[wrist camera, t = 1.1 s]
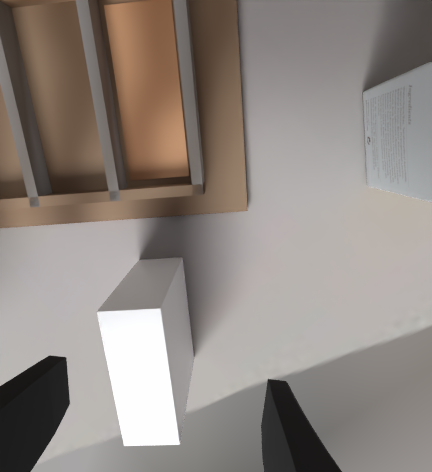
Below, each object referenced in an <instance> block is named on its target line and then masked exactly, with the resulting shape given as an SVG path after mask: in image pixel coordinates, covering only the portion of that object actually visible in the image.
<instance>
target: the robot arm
mask: <svg viewBox="0 0 432 472" xmlns="http://www.w3.org/2000/svg"><path fill="white" fill-rule="evenodd" d="M69 404H70V400H69V387H68V374H67V362H66V357H58V356H48V357H47V358H45V359H43V360H41V361H40V362H38V363H36V364H35V365H33V366H32V367H30V368H28V369H27V370H25V371H24V372H22V373H21V374H19V375H17V376H16V377H14V378H13V379H11V380H10V381H8V382H6V383H5V384H3V385H1V386H0V472H30V471H31V470H32V469H33V467H34V466H35V464H36V463H37V461H38V459H39V458H40V456H41V455H42V453H43V452H44V450H45V448H46V447H47V445H48V444H49V442H50V441H51V439H52V437H53V436H54V434H55V432H56V430H57V429H58V427H59V425H60V423H61V421H62V419H63V417H64V415H65V413H66V410H67V408H68V406H69ZM261 428H262V455H263V465H264V472H342V471H341V470H340V468H339V467H338V466H337V464H336V463H335V461H334V460H333V458H332V457H331V456H330V454H329V453H328V451H327V450H326V448H325V446H324V445H323V443H322V442H321V440H320V439H319V437H318V436H317V434H316V432H315V431H314V429H313V428H312V426H311V424H310V423H309V421H308V420H307V418H306V416H305V414H304V413H303V411H302V409H301V407H300V406H299V404H298V402H297V400H296V398H295V396H294V394H293V393H292V391H291V389H290V387H289V385H288V383H287V382H286V381H280V380H271V379H268V383H267V390H266V397H265V404H264V411H263V418H262V425H261Z"/></svg>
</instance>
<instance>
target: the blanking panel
mask: <svg viewBox="0 0 432 472" xmlns="http://www.w3.org/2000/svg"><path fill="white" fill-rule="evenodd" d="M97 315H98V320H99V325H100V330H101V335H102V340H103V345H104V350H105V355H106V359H107V364H108V369H109V374H110V379H111V384H112V389H113V394H114V399H115V404H116V408H117V413H118V418H119V423H120V428H121V433H122V438H123V442H124V446H139V445H140V446H141V445H179V444H180V440H181V434H182V428H183V422H184V416H185V410H186V404H187V398H188V392H189V386H190V380H191V374H192V368H193V362H194V353H193V344H192V335H191V327H190V318H189V309H188V301H187V292H186V283H185V274H184V266H183V257H179V258H163V259H147V260H139V261H138V262H137V263H136V264H135V265H134V267H133V268H132V269H131V270H130V272H129V273H128V274H127V275H126V276H125V278H124V279H123V280H122V281H121V283H120V284H119V285H118V286H117V288H116V289H115V290H114V291H113V292H112V294H111V295H110V296H109V297H108V299H107V300H106V301H105V302H104V304H103V305H102V306H101V307H100V308H99V310H98V311H97Z"/></svg>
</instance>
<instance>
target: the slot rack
mask: <svg viewBox="0 0 432 472" xmlns="http://www.w3.org/2000/svg"><path fill="white" fill-rule="evenodd" d="M238 211H248V209H247V190H246V171H245V152H244V133H243V114H242V95H241V76H240V57H239V38H238V19H237V0H0V228H9V227H23V226H38V225H52V224H66V223H81V222H95V221H109V220H124V219H138V218H152V217H167V216H181V215H195V214H210V213H224V212H238Z"/></svg>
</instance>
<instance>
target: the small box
mask: <svg viewBox="0 0 432 472" xmlns="http://www.w3.org/2000/svg"><path fill="white" fill-rule="evenodd" d="M363 107H364V128H365V149H366V170H367V186H368V187H371V188H375V189H379V190H383V191H387V192H391V193H395V194H399V195H403V196H407V197H411V198H416V199H419V200H423V201H428V202H432V61H431V62H429V63H426V64H424V65H422V66H419V67H417V68H415V69H413V70H410V71H408V72H406V73H403V74H401V75H399V76H397V77H395V78H392V79H390V80H388V81H385V82H383V83H381V84H379V85H377V86H374V87H372V88H370V89H368V90H366V91H364V92H363Z"/></svg>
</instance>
